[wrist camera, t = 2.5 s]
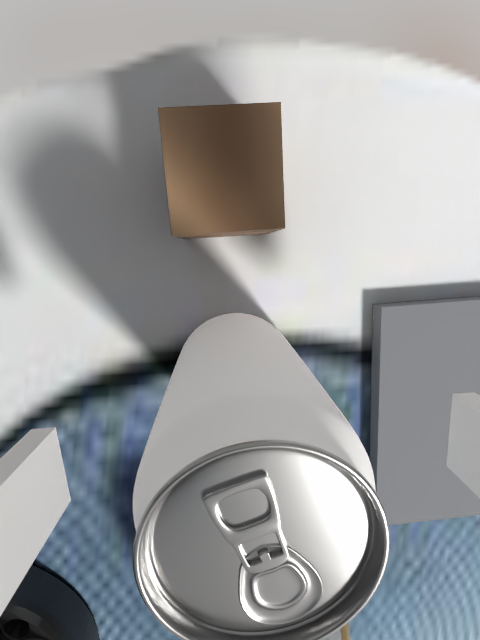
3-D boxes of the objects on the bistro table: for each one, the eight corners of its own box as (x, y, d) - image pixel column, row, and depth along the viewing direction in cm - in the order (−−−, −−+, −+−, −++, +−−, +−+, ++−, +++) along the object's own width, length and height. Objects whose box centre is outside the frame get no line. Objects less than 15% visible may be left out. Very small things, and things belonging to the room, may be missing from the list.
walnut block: (183, 238, 17) (171, 235, 13) (174, 146, 16) (157, 108, 12) (268, 233, 17) (284, 228, 13) (264, 141, 16) (280, 101, 12)
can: (204, 432, 20) (182, 707, 8) (160, 335, 18) (54, 492, 6) (305, 394, 19) (438, 615, 8) (270, 293, 18) (366, 376, 6)
